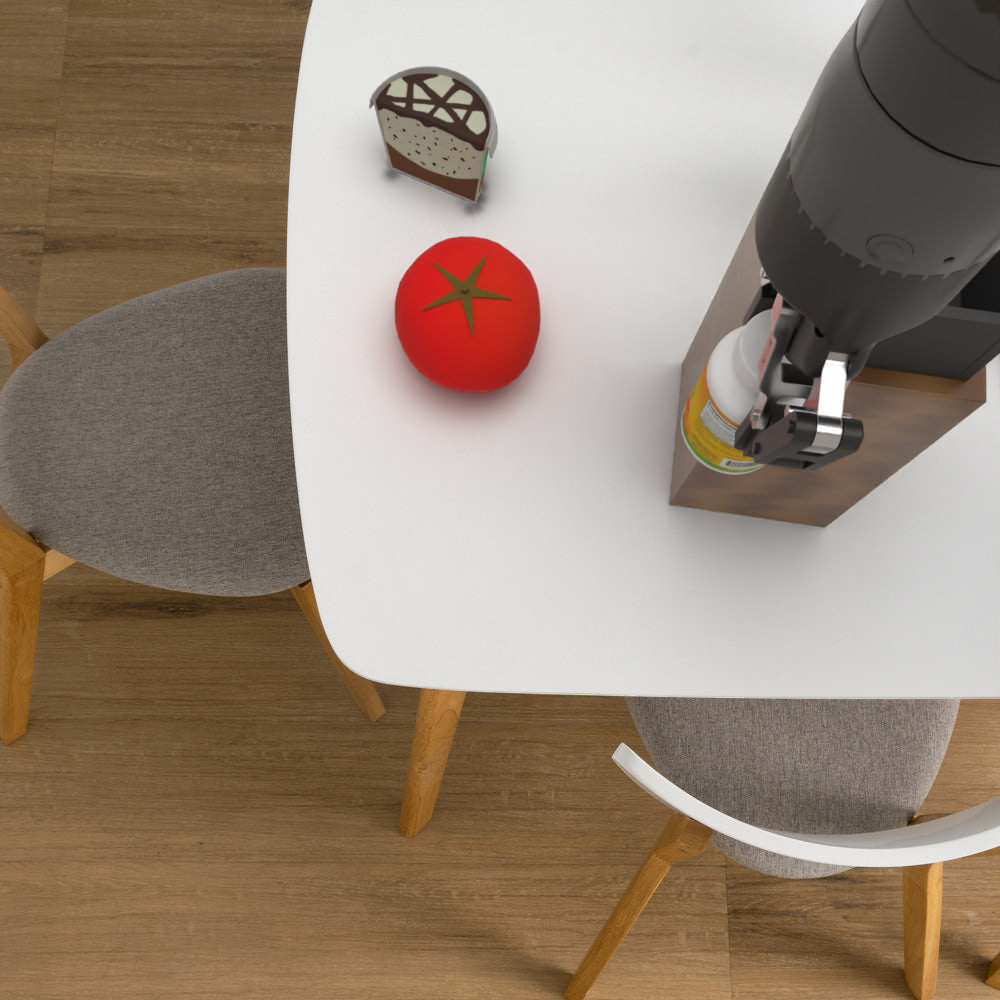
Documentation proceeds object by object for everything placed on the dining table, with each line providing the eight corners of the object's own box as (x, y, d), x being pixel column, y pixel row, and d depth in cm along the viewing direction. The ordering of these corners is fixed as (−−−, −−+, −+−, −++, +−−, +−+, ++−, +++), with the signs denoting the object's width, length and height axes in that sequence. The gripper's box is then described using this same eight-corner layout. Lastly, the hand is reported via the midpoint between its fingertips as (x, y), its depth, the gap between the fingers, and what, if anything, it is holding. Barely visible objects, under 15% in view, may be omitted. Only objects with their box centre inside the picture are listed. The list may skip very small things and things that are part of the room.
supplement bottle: (725, 364, 53) (778, 270, 43) (800, 430, 52) (871, 348, 42) (658, 428, 51) (698, 345, 42) (734, 497, 50) (792, 428, 41)
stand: (831, 384, 90) (985, 205, 63) (825, 527, 85) (987, 402, 59) (682, 362, 90) (771, 176, 63) (668, 504, 86) (758, 369, 59)
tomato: (393, 279, 92) (383, 215, 82) (527, 269, 92) (534, 204, 82) (404, 418, 87) (395, 369, 77) (544, 407, 88) (554, 356, 78)
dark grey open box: (966, 219, 62) (1024, 151, 56) (967, 381, 59) (1028, 329, 53) (788, 194, 63) (825, 123, 56) (778, 354, 59) (816, 299, 53)
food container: (516, 162, 96) (521, 91, 86) (490, 210, 94) (492, 143, 84) (404, 116, 97) (397, 41, 88) (376, 163, 95) (366, 92, 86)
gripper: (1038, 390, 28) (831, 541, 44) (1026, -2, 32) (841, 267, 48) (779, 354, 28) (668, 518, 44) (802, -31, 32) (693, 247, 48)
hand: (759, 386), depth 46 cm, fingers closed on supplement bottle, 5 cm apart
